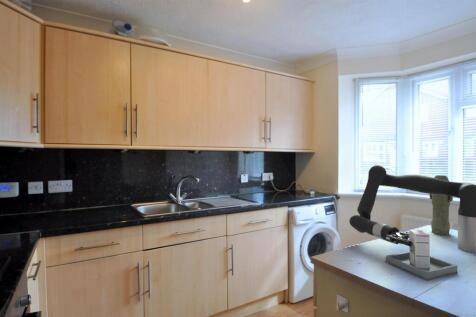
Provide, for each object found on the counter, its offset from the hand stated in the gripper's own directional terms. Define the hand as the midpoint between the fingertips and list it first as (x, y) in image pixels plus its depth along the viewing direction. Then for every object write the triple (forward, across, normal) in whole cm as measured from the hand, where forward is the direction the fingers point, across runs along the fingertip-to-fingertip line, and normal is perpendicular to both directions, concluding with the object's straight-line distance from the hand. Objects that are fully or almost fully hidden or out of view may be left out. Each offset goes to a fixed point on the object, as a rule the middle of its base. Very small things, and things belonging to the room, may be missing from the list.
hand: (418, 242), depth 113 cm
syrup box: (0, 0, +10) cm, 10 cm away
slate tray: (+1, 0, +10) cm, 10 cm away
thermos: (-29, +60, +10) cm, 67 cm away
